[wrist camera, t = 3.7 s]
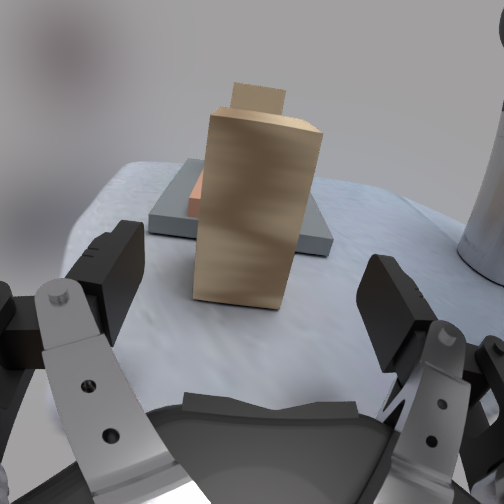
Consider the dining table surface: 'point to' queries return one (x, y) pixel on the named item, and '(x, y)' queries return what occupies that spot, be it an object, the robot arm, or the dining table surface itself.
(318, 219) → the base board
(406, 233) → the dining table surface
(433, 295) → the dining table surface
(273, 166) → the maple pillar
